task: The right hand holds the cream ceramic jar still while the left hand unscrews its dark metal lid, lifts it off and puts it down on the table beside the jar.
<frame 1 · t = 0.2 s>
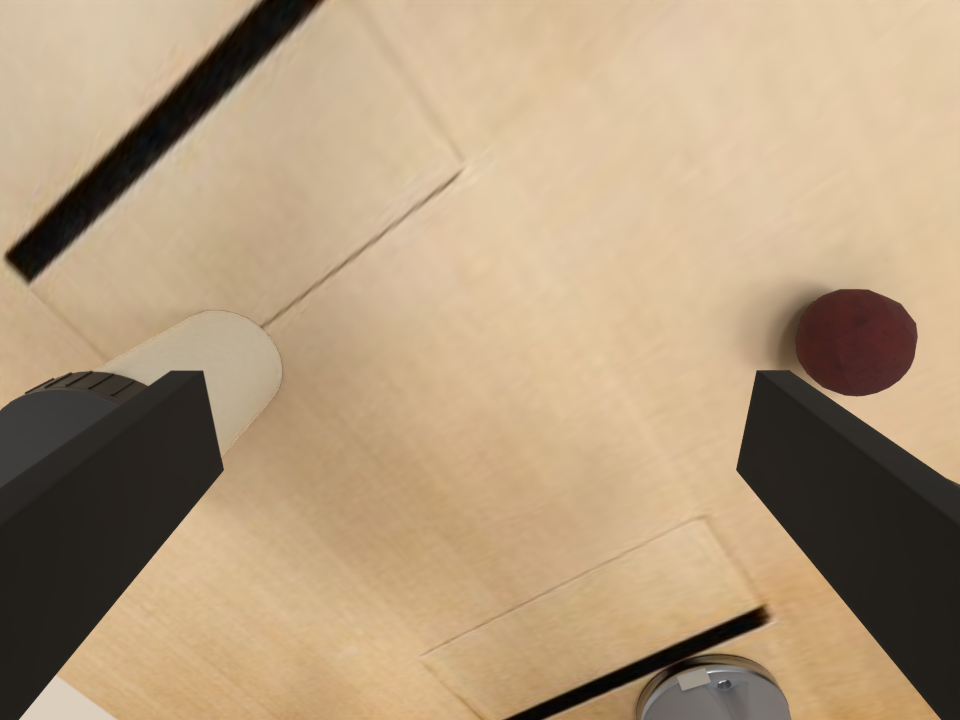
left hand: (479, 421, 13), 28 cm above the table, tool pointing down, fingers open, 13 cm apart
lid: (90, 474, 28), point 16 cm above the table, screwed on, not yet turned
jar: (226, 364, 42), on the table
dark red ball: (822, 325, 41), on the table
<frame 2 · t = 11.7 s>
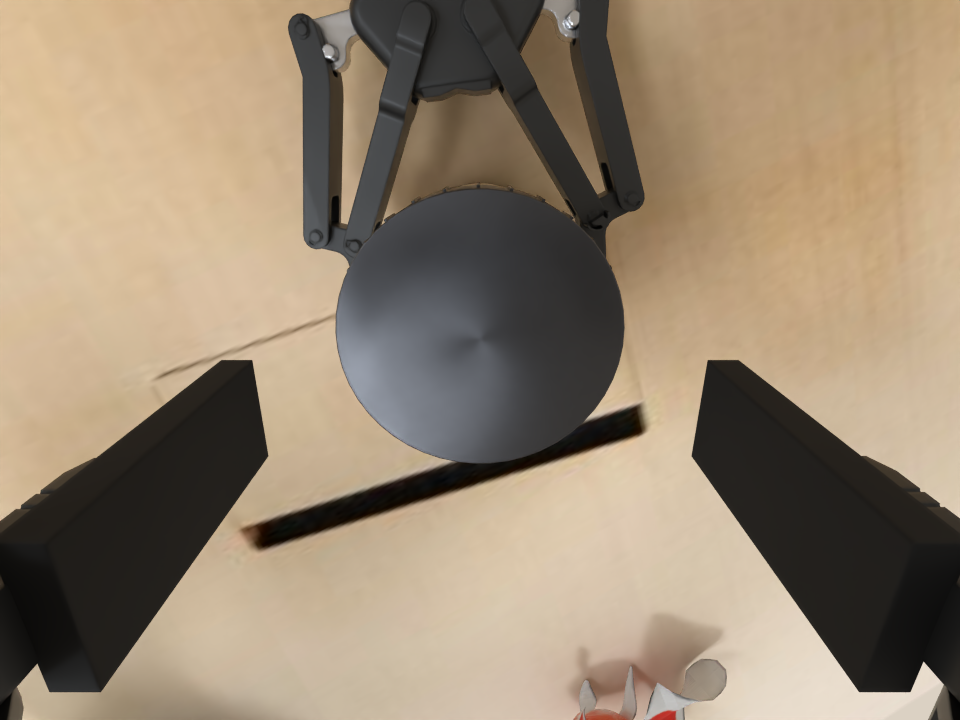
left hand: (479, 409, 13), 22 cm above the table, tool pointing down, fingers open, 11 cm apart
right hand: (489, 360, 29), fingers closed on jar, 9 cm apart
fish: (630, 675, 47), on the table
lid: (479, 336, 19), point 16 cm above the table, screwed on, not yet turned
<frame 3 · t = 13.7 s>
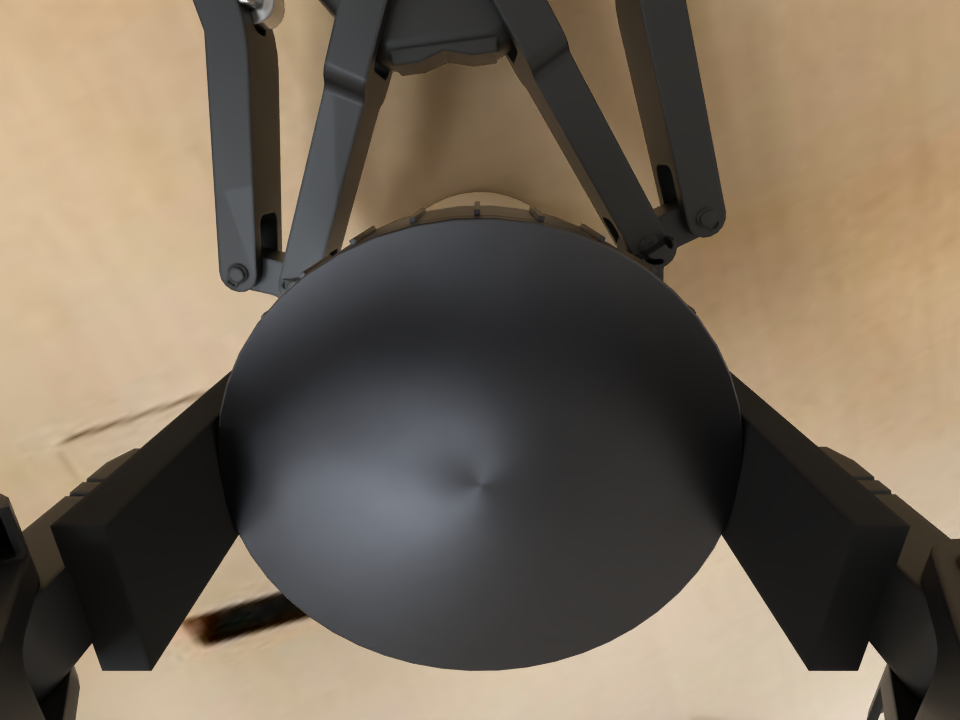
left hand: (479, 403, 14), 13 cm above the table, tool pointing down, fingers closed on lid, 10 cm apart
lid: (480, 475, 10), point 16 cm above the table, screwed on, not yet turned, touching left hand
jar: (480, 290, 25), on the table, touching right hand
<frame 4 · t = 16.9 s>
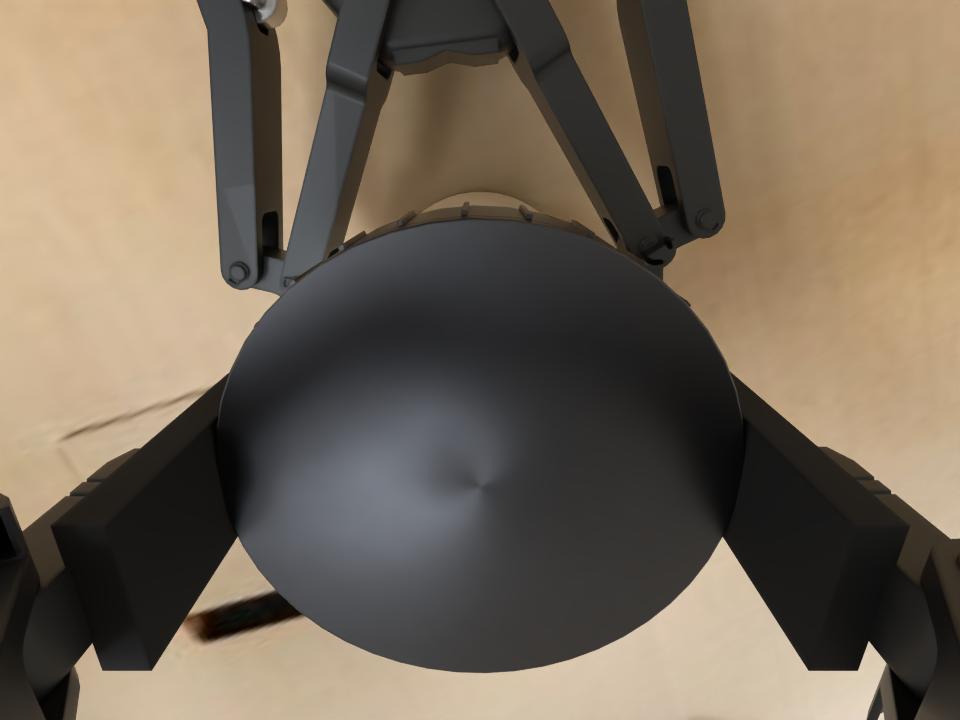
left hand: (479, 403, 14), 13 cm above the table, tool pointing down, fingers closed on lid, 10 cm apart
lid: (480, 476, 10), point 16 cm above the table, turned 102° so far, risen 0.1 cm, still on its thread, touching left hand
jar: (480, 289, 25), on the table, touching right hand
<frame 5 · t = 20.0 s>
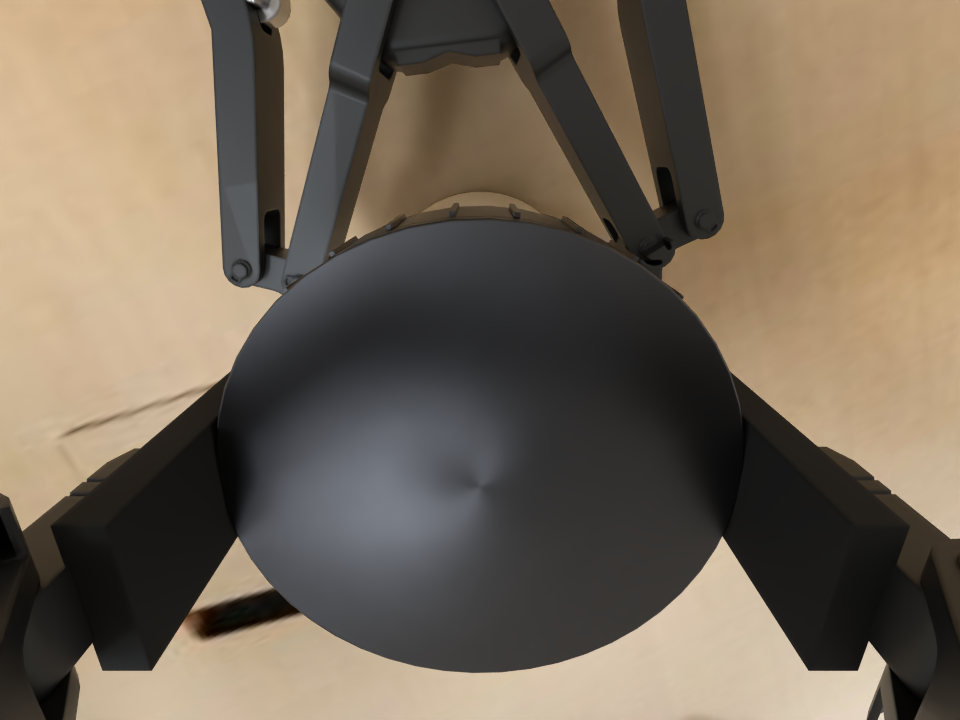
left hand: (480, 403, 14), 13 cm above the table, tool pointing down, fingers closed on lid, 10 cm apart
lid: (480, 476, 10), point 16 cm above the table, turned 204° so far, risen 0.3 cm, still on its thread, touching left hand
jar: (480, 289, 25), on the table, touching right hand
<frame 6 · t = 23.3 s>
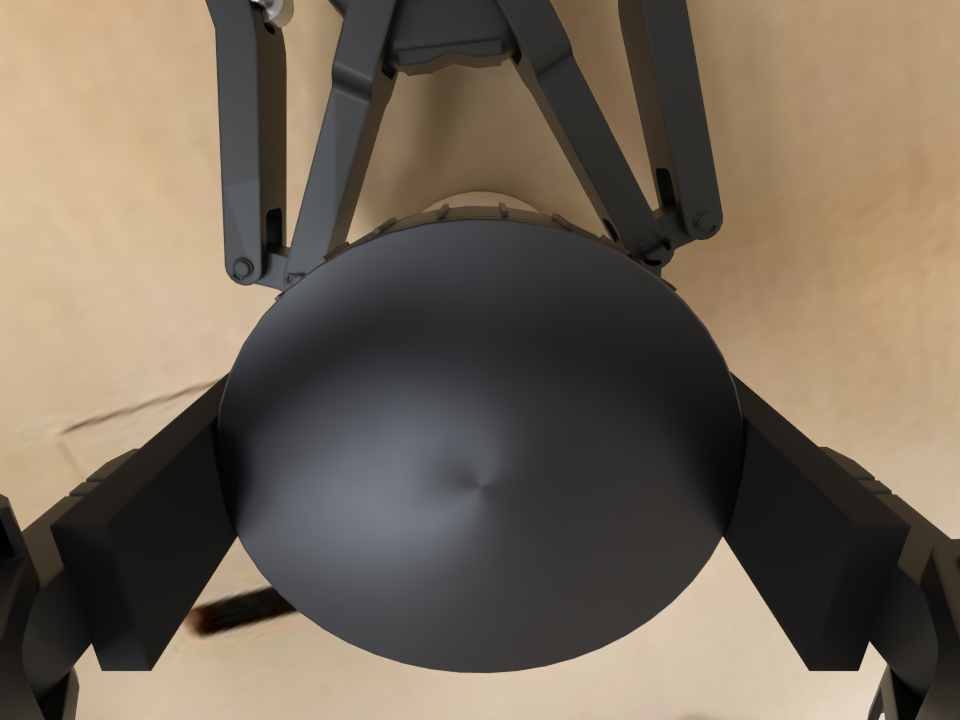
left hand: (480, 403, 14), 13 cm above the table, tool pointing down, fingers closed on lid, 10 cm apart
lid: (480, 476, 10), point 16 cm above the table, turned 306° so far, risen 0.4 cm, still on its thread, touching left hand
jar: (480, 288, 26), on the table, touching right hand
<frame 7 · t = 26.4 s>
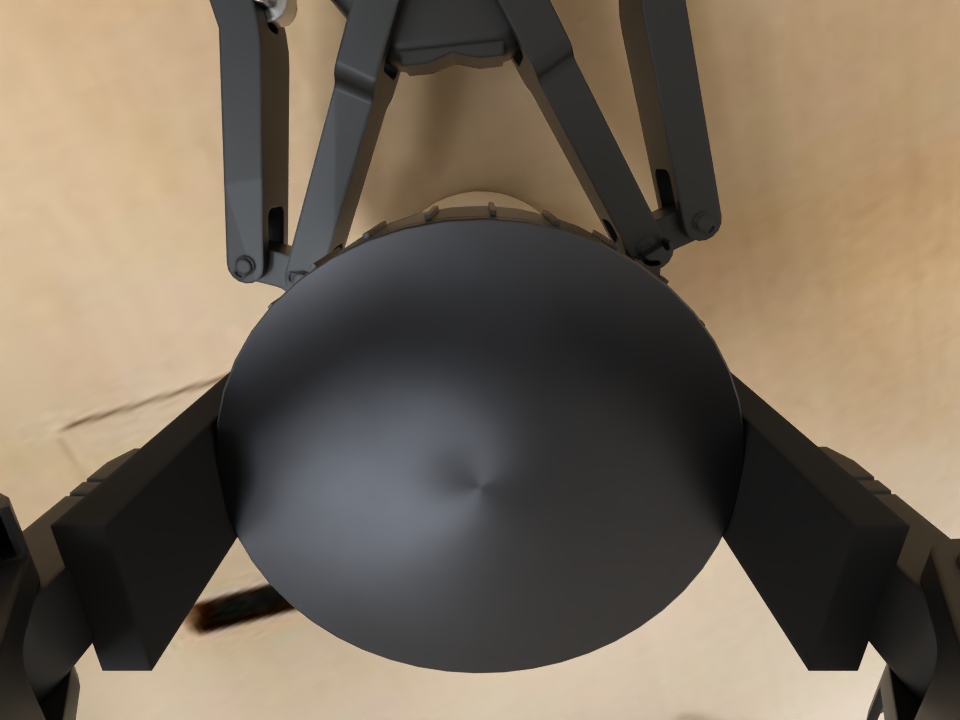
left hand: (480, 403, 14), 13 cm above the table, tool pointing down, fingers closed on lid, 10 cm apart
lid: (480, 476, 10), point 16 cm above the table, turned 408° so far, risen 0.5 cm, still on its thread, touching left hand
jar: (480, 287, 26), on the table, touching right hand
when the left hand's fingers open (0 cm above the table, at t = 33.8 s): lid drops 1 cm, point 2 cm above the table.
when the right hand's fingers open (7 cm above the table, at t = 34.8 s): jar stays where it is, on the table.
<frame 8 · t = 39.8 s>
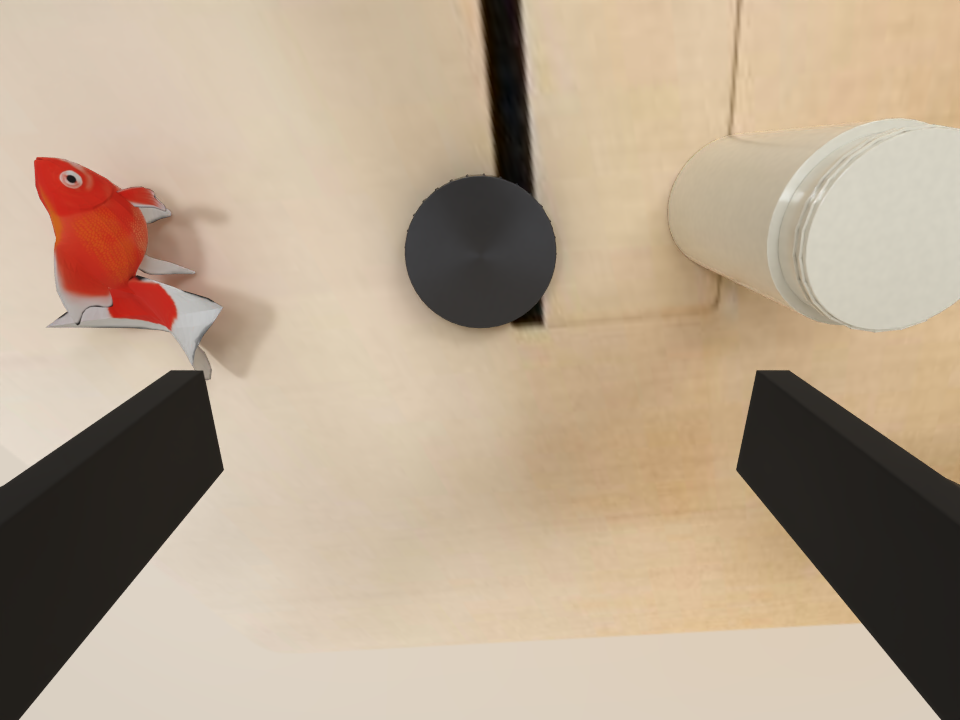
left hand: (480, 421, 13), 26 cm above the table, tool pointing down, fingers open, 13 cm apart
fish: (175, 269, 38), on the table
lid: (480, 255, 35), point 2 cm above the table, off its thread
jar: (733, 204, 36), on the table
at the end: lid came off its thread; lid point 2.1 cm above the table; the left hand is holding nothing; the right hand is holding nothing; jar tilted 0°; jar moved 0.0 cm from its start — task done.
